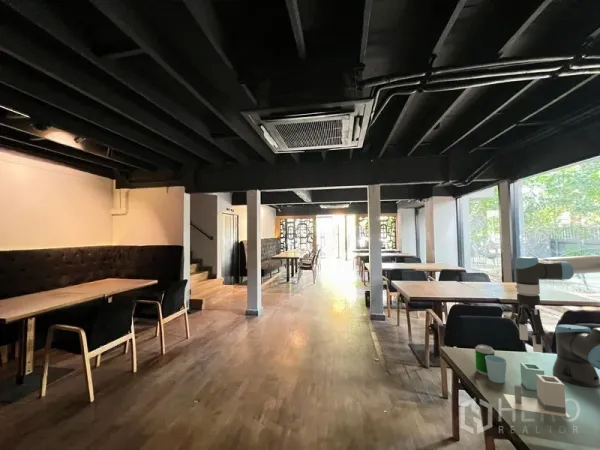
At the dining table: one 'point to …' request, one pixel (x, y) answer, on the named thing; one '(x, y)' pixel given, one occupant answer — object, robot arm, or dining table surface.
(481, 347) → the soda can
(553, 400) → the grey sleeve
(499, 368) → the cup
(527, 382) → the teal sleeve
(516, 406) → the pin board
